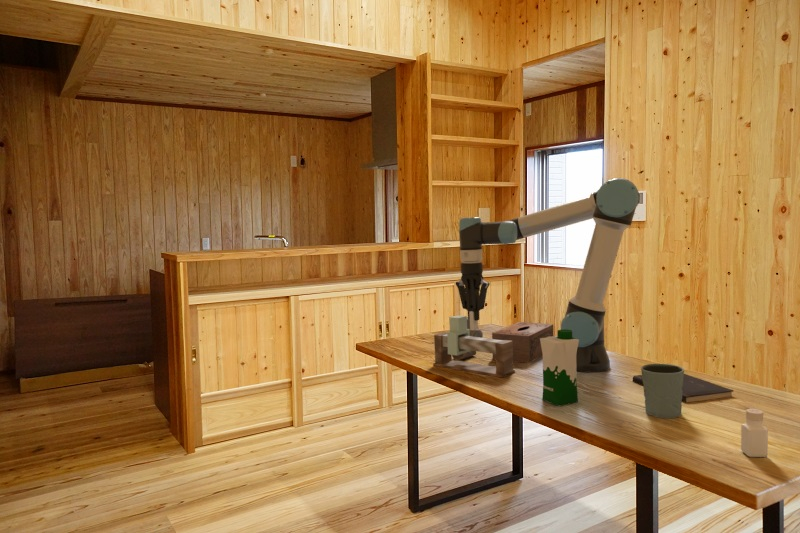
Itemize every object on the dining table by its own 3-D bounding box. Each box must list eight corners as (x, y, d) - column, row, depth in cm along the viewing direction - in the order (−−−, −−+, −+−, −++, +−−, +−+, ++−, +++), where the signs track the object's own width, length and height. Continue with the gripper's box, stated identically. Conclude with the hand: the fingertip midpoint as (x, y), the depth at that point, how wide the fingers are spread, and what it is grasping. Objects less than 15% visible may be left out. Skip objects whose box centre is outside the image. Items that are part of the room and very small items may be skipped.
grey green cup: (692, 416, 150) (692, 370, 149) (660, 421, 147) (659, 374, 146) (664, 405, 160) (664, 361, 159) (633, 409, 157) (632, 365, 156)
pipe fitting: (452, 339, 256) (455, 316, 254) (467, 338, 260) (469, 315, 259) (469, 346, 246) (472, 322, 244) (484, 345, 250) (487, 322, 248)
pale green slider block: (470, 351, 211) (469, 315, 210) (456, 355, 205) (455, 318, 204) (461, 349, 213) (460, 314, 212) (447, 354, 207) (446, 317, 206)
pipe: (463, 338, 236) (440, 336, 232) (482, 346, 220) (458, 344, 217) (461, 354, 236) (438, 352, 232) (480, 362, 220) (456, 361, 217)
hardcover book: (675, 377, 187) (675, 370, 187) (733, 398, 165) (733, 390, 165) (632, 383, 183) (632, 375, 183) (685, 404, 161) (685, 396, 161)
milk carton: (583, 402, 164) (582, 332, 163) (556, 407, 161) (555, 335, 159) (562, 394, 172) (561, 327, 171) (537, 399, 169) (535, 330, 167)
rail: (514, 372, 199) (514, 339, 198) (502, 377, 193) (501, 343, 192) (446, 361, 218) (445, 331, 217) (433, 365, 212) (432, 334, 211)
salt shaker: (739, 450, 128) (740, 408, 127) (759, 450, 127) (759, 408, 127) (748, 458, 124) (749, 414, 123) (768, 458, 123) (769, 414, 123)
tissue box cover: (529, 363, 211) (528, 336, 210) (492, 359, 219) (492, 333, 218) (553, 349, 232) (553, 324, 232) (519, 345, 240) (518, 321, 240)
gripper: (449, 262, 204) (452, 329, 206) (480, 263, 195) (483, 333, 197) (462, 261, 209) (465, 326, 211) (493, 261, 201) (495, 329, 202)
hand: (474, 329), depth 204 cm, fingers closed
